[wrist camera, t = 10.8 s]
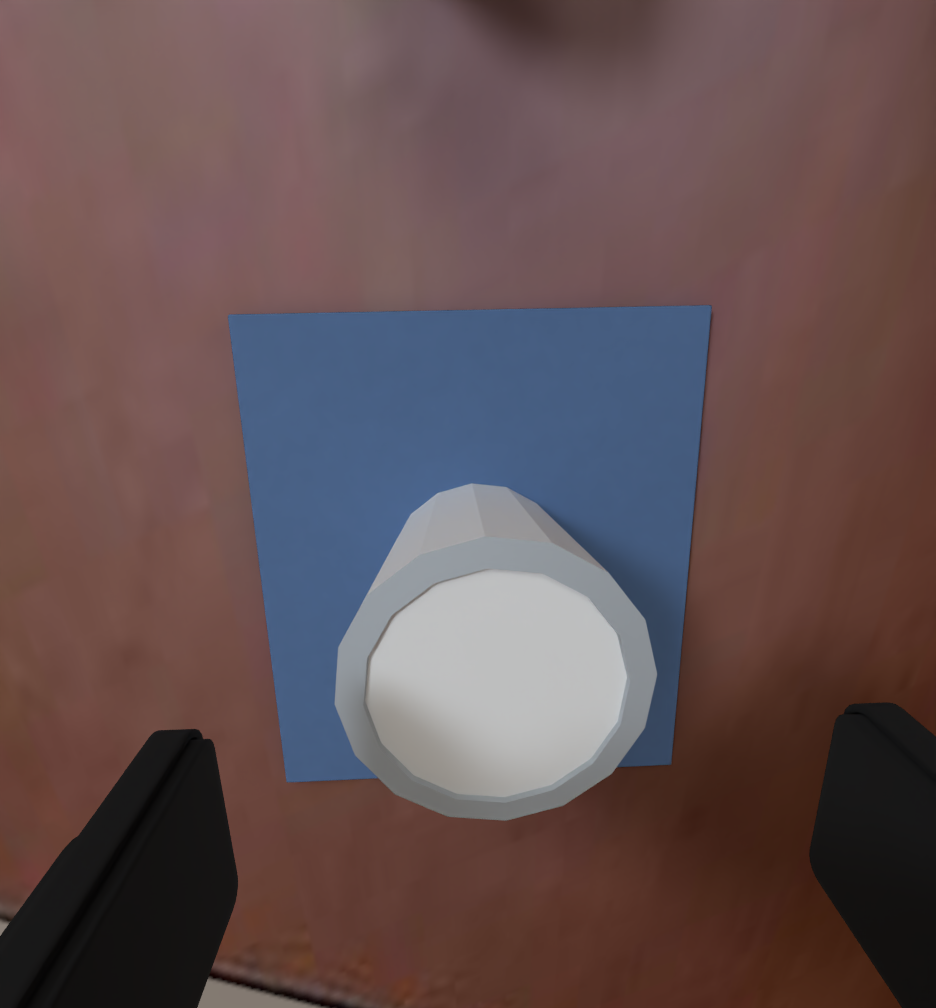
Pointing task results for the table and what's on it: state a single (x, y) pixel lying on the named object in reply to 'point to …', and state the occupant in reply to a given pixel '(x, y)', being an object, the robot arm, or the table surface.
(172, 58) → the table surface
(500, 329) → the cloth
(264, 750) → the table surface
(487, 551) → the white cup
